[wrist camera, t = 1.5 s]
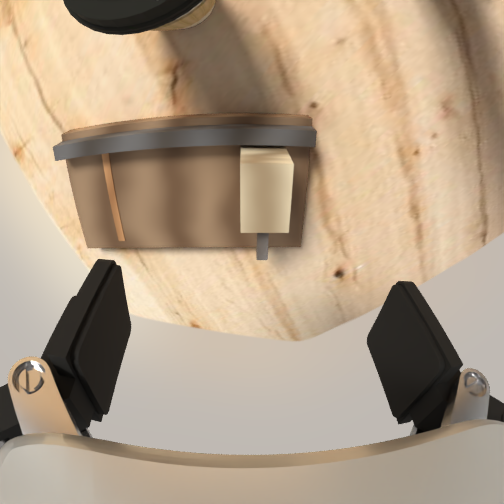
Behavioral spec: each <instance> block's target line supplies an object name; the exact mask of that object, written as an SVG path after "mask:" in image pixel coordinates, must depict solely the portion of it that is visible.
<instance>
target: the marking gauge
mask: <svg viewBox="0 0 504 504" xmlns="http://www.w3.org/2000/svg"><path fill="white" fill-rule="evenodd" d="M293 170H294V163H293V161H292V159H291V157H290V155H289V153H288V151H287V149H286V147H285V146H275V145H241V154H240V222H241V233H257V260H267V259H268V239H269V233H289V223H290V211H291V198H292V185H293Z"/></svg>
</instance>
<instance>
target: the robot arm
mask: <svg viewBox="0 0 504 504" xmlns="http://www.w3.org/2000/svg"><path fill="white" fill-rule="evenodd" d="M130 332H131V321H130V317H129V311H128V306H127V300H126V295H125V289H124V283H123V277H122V270H121V267H120V266H119V265H116V262H115V261H114V260H105V259H98V260H97V261H96V263H95V264H94V266H93V268H92V269H91V271H90V273H89V274H88V276H87V278H86V280H85V281H84V283H83V285H82V287H81V288H80V290H79V292H78V294H77V296H74V297H72V298H71V300H70V301H69V303H68V305H67V307H66V309H65V310H64V313H63V314H62V316H61V318H60V320H59V322H58V324H57V326H56V328H55V330H54V332H53V334H52V336H51V338H50V340H49V342H48V344H47V346H46V348H45V350H44V352H43V354H42V357H41V358H37V357H26V358H23V359H21V360H19V361H18V362H16V363H15V364H14V365H13V366H12V368H11V370H10V372H9V375H8V384H6V385H4V386H2V387H0V504H504V403H502V402H500V401H499V400H497V399H496V398H494V397H492V396H490V387H489V384H488V381H487V379H486V378H485V376H484V375H483V374H482V373H481V372H479V371H478V370H475V369H472V368H467V369H465V370H463V371H462V372H460V370H459V369H460V368H461V367H462V365H463V363H462V361H461V360H460V358H459V356H458V354H457V352H456V350H455V349H454V347H453V345H452V344H451V342H450V340H449V338H448V337H447V335H446V333H445V331H444V330H443V328H442V326H441V325H440V323H439V321H438V320H437V318H436V317H435V315H434V313H433V312H432V310H431V308H430V307H429V305H428V304H427V302H426V300H425V299H424V297H423V296H422V294H421V293H420V291H419V290H418V288H417V287H416V285H415V284H414V283H413V282H408V281H398V282H397V283H396V285H393V286H392V288H391V290H390V292H389V294H388V296H387V299H386V301H385V303H384V305H383V307H382V309H381V311H380V313H379V315H378V317H377V319H376V321H375V323H374V325H373V327H372V329H371V330H370V332H369V334H368V337H367V345H368V347H369V350H370V353H371V355H372V358H373V361H374V363H375V366H376V369H377V372H378V374H379V377H380V380H381V383H382V386H383V388H384V391H385V394H386V397H387V400H388V402H389V406H390V409H391V411H392V414H393V416H394V417H396V418H397V421H398V424H402V423H407V422H410V421H411V420H413V422H414V426H413V428H412V431H411V433H410V436H407V437H403V438H399V439H394V440H390V441H385V442H380V443H374V444H369V445H363V446H357V447H351V448H344V449H336V450H328V451H319V452H308V453H295V454H277V455H222V454H221V455H220V454H204V453H191V452H180V451H171V450H163V449H155V448H147V447H140V446H134V445H128V444H122V443H117V442H112V441H106V440H101V439H95V438H93V437H92V435H91V434H90V432H89V430H88V427H89V426H90V422H91V420H95V421H99V422H101V421H102V417H103V414H105V415H106V414H108V412H109V408H110V404H111V400H112V396H113V393H114V389H115V385H116V381H117V377H118V374H119V370H120V367H121V363H122V360H123V356H124V353H125V349H126V346H127V342H128V339H129V336H130Z"/></svg>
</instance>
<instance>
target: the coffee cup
mask: <svg viewBox="0 0 504 504" xmlns="http://www.w3.org/2000/svg"><path fill="white" fill-rule="evenodd" d="M63 1H64V4H65V6H66V8H67V9H68V11H69V12H70V14H71V15H72V16H73V17H74V18H75V19H76V20H77V21H78V22H80V23H81V24H82V25H84V26H86V27H88V28H90V29H92V30H94V31H98V32H102V33H106V34H117V35H126V34H134V33H141V32H144V31H148V30H177V29H187V28H191V27H193V26H196V25H198V24H199V23H201V22H202V21H204V20H205V19H206V18H207V17H208V16H209V15H210V13H211V12H212V10H213V8H214V5H215V2H216V0H63Z"/></svg>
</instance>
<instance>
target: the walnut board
mask: <svg viewBox="0 0 504 504" xmlns="http://www.w3.org/2000/svg"><path fill="white" fill-rule="evenodd" d="M316 133H317V131H316V130H315V129H314V128H313V127H312V118H311V117H309V116H308V115H292V114H262V113H227V114H198V115H181V116H168V117H156V118H147V119H138V120H129V121H122V122H115V123H108V124H101V125H95V126H89V127H84V128H78V129H73V130H70V131H68V132H66V133H64V134H62V142H61V143H59V144H57V145H55V146H54V147H53V150H54V156H55V161H58V160H64V159H66V163H67V168H68V173H69V178H70V183H71V187H72V192H73V196H74V200H75V204H76V208H77V212H78V216H79V220H80V223H81V227H82V230H83V234H84V237H85V241H86V244H87V247H88V248H155V247H257V233H241V222H240V154H241V145H275V146H285V147H286V149H287V151H288V153H289V155H290V157H291V159H292V161H293V163H294V170H293V185H292V198H291V211H290V223H289V233H269V239H268V247H301V238H302V229H303V220H304V210H305V201H306V190H307V180H308V169H309V157H310V147H315V145H316Z"/></svg>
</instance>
